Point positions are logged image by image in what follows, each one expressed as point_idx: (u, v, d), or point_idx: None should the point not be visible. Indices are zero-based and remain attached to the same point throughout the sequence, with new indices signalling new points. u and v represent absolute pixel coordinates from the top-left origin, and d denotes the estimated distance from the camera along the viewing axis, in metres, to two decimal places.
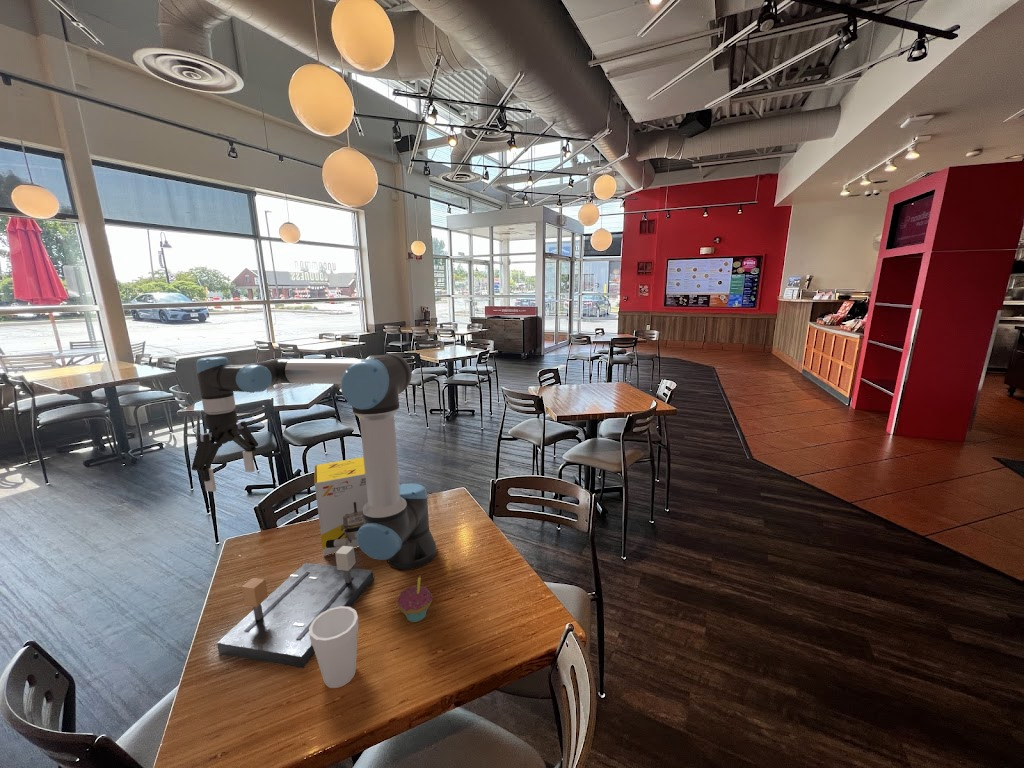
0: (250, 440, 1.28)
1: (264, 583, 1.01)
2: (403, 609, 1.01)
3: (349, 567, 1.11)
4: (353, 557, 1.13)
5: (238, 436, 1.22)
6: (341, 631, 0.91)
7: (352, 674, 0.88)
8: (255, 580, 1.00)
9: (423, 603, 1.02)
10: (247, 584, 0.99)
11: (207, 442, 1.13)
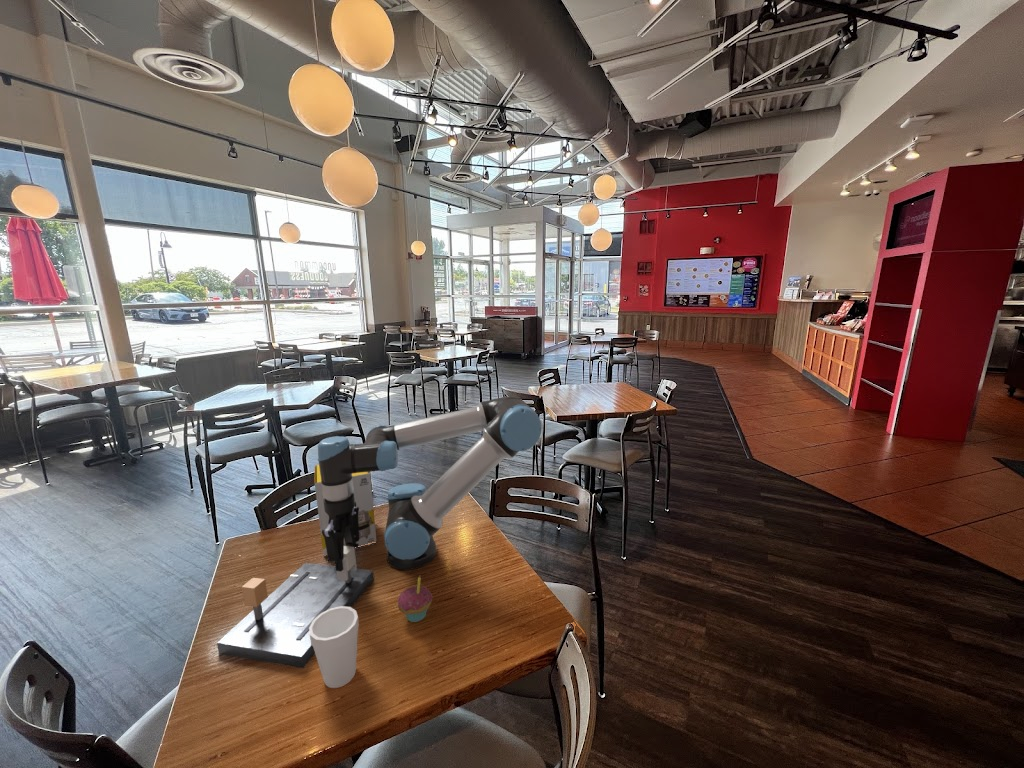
0: (355, 531, 1.16)
1: (264, 583, 1.01)
2: (403, 609, 1.01)
3: (349, 567, 1.11)
4: (353, 557, 1.13)
5: (351, 523, 1.12)
6: (341, 631, 0.91)
7: (352, 674, 0.88)
8: (255, 580, 1.00)
9: (423, 603, 1.02)
10: (247, 584, 0.99)
11: (333, 536, 1.05)
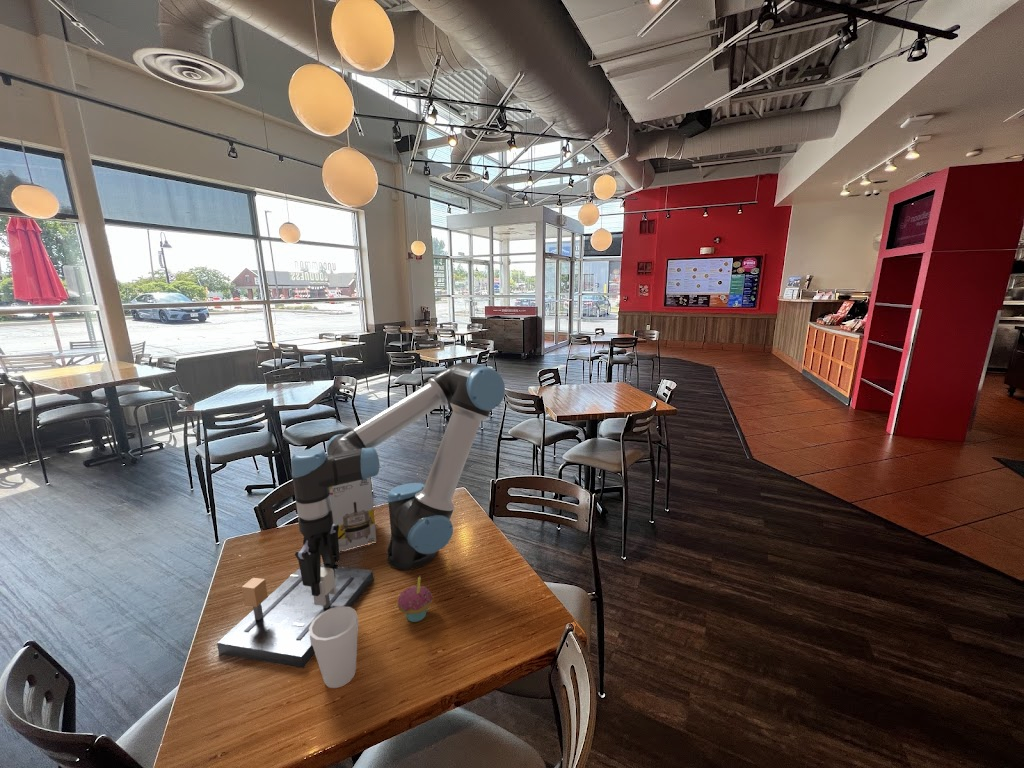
0: (334, 551, 1.06)
1: (264, 583, 1.01)
2: (403, 609, 1.01)
3: (327, 591, 1.02)
4: (332, 580, 1.04)
5: (329, 543, 1.03)
6: (341, 631, 0.91)
7: (352, 674, 0.88)
8: (255, 580, 1.00)
9: (423, 603, 1.02)
10: (247, 584, 0.99)
11: (308, 559, 0.96)
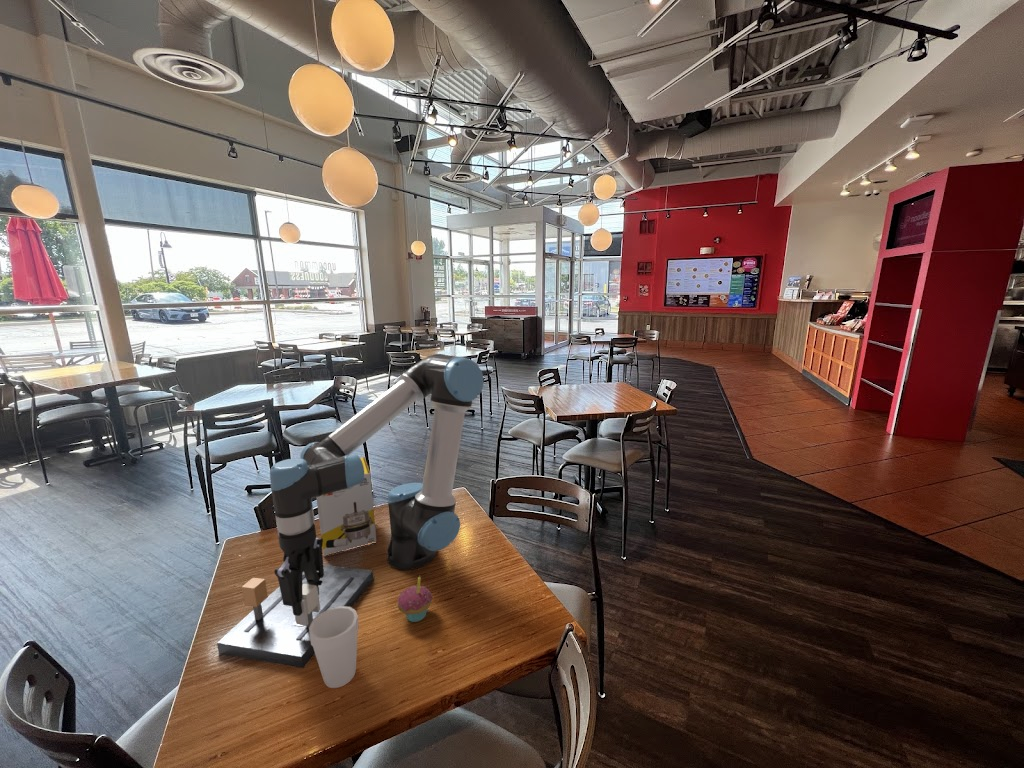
0: (318, 567, 1.00)
1: (264, 583, 1.01)
2: (403, 609, 1.01)
3: (310, 610, 0.96)
4: (315, 597, 0.98)
5: (312, 559, 0.97)
6: (341, 631, 0.91)
7: (352, 674, 0.88)
8: (255, 580, 1.00)
9: (423, 603, 1.02)
10: (247, 584, 0.99)
11: (289, 577, 0.90)
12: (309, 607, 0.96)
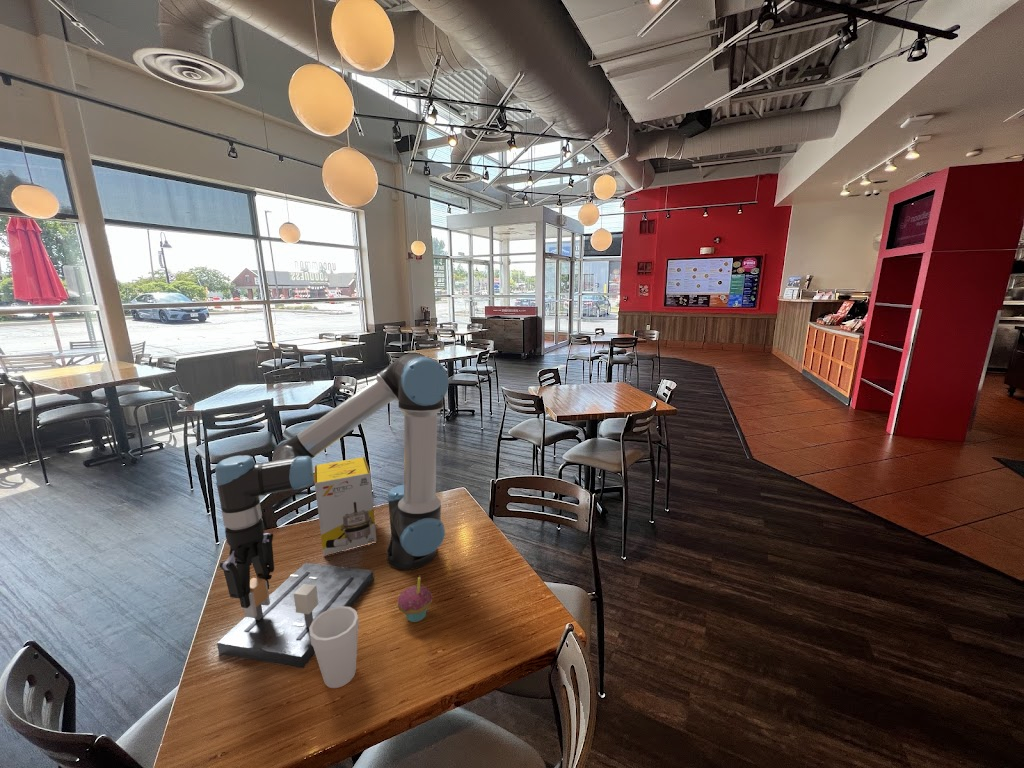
0: (268, 561, 1.03)
1: (264, 583, 1.01)
2: (403, 609, 1.01)
3: (310, 610, 0.96)
4: (315, 597, 0.98)
5: (261, 553, 0.99)
6: (341, 631, 0.91)
7: (352, 674, 0.88)
8: (255, 580, 1.00)
9: (422, 603, 1.02)
10: None
11: (234, 570, 0.93)
12: (309, 607, 0.96)
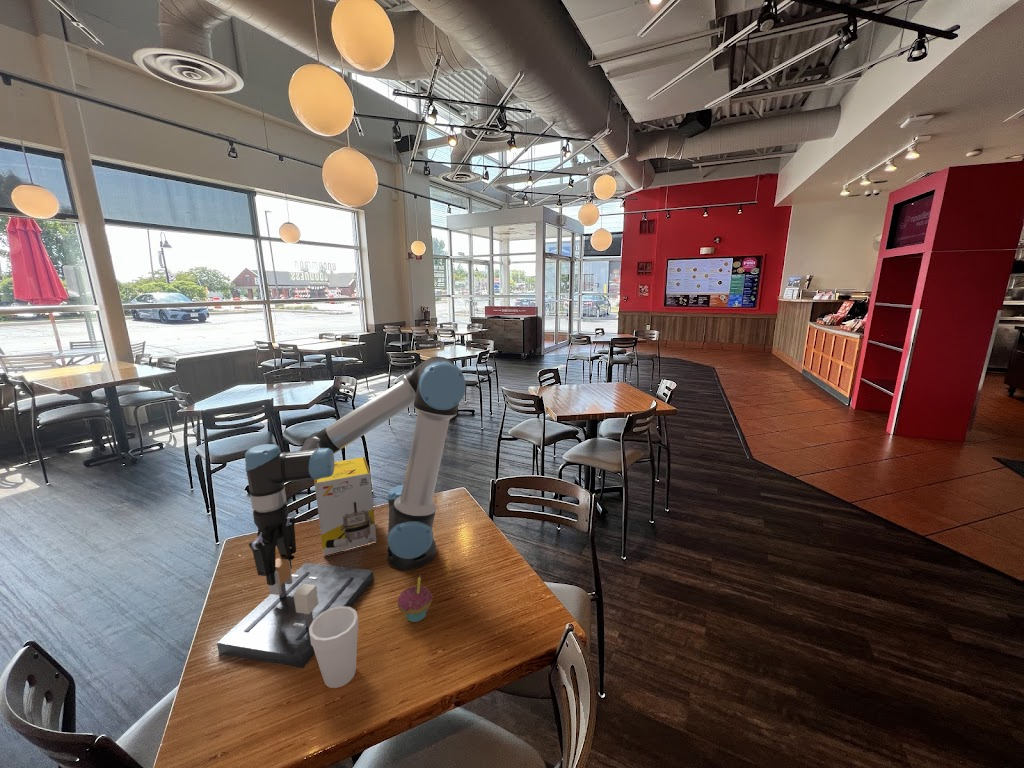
0: (290, 543, 1.11)
1: (287, 563, 1.08)
2: (403, 609, 1.01)
3: (310, 610, 0.96)
4: (315, 597, 0.98)
5: (285, 535, 1.07)
6: (341, 631, 0.91)
7: (352, 674, 0.88)
8: (279, 560, 1.08)
9: (423, 603, 1.02)
10: None
11: (262, 549, 1.00)
12: (309, 607, 0.96)
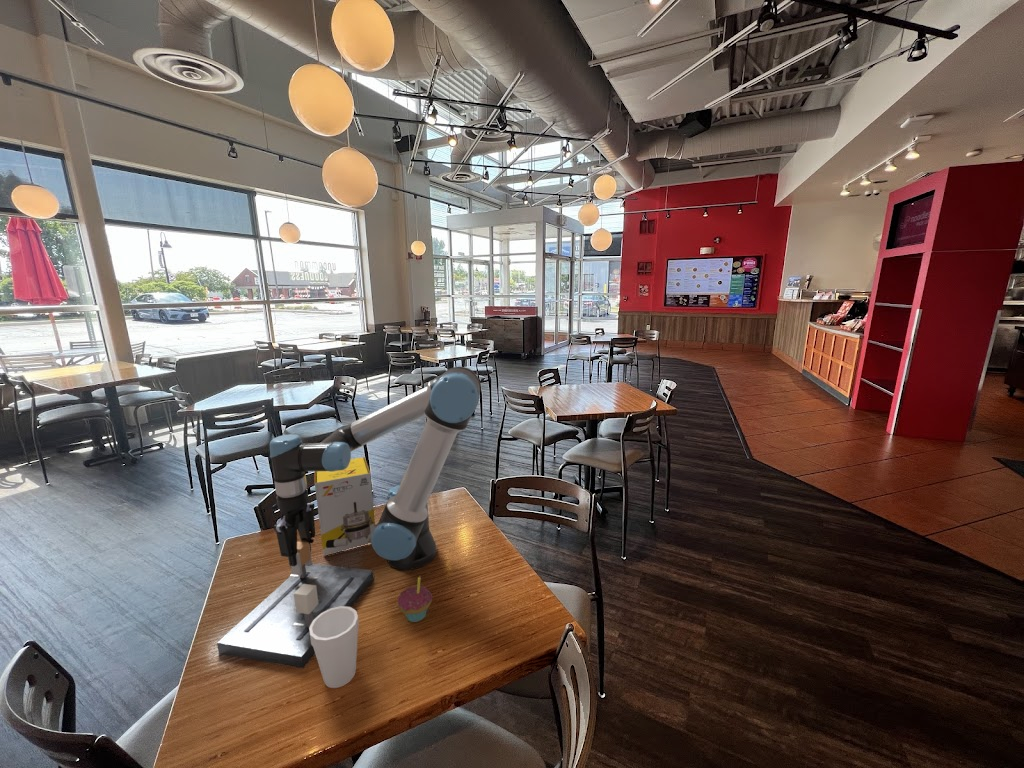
0: (310, 528, 1.18)
1: (308, 546, 1.16)
2: (403, 609, 1.01)
3: (310, 610, 0.96)
4: (315, 597, 0.98)
5: (305, 520, 1.15)
6: (341, 631, 0.91)
7: (352, 674, 0.88)
8: (300, 543, 1.15)
9: (422, 603, 1.02)
10: None
11: (285, 532, 1.08)
12: (309, 607, 0.96)
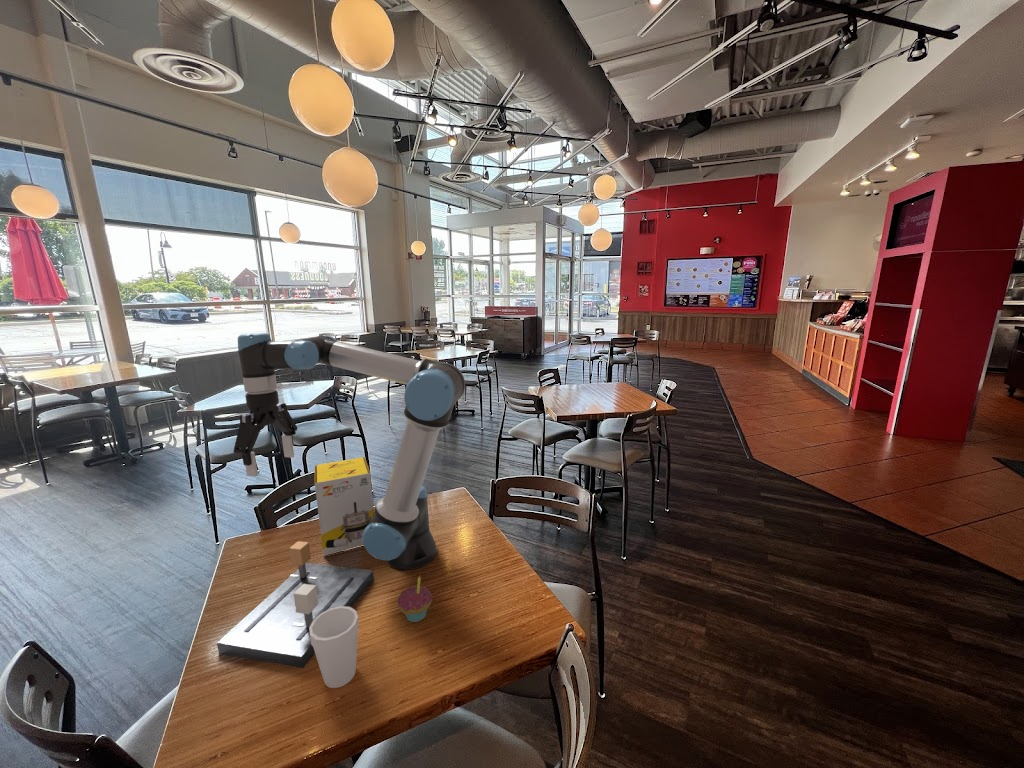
0: (290, 423, 1.21)
1: (308, 546, 1.16)
2: (403, 609, 1.01)
3: (310, 610, 0.96)
4: (315, 597, 0.98)
5: (279, 418, 1.15)
6: (341, 631, 0.91)
7: (352, 674, 0.88)
8: (300, 543, 1.15)
9: (423, 603, 1.02)
10: (294, 546, 1.14)
11: (249, 423, 1.06)
12: (309, 607, 0.96)
